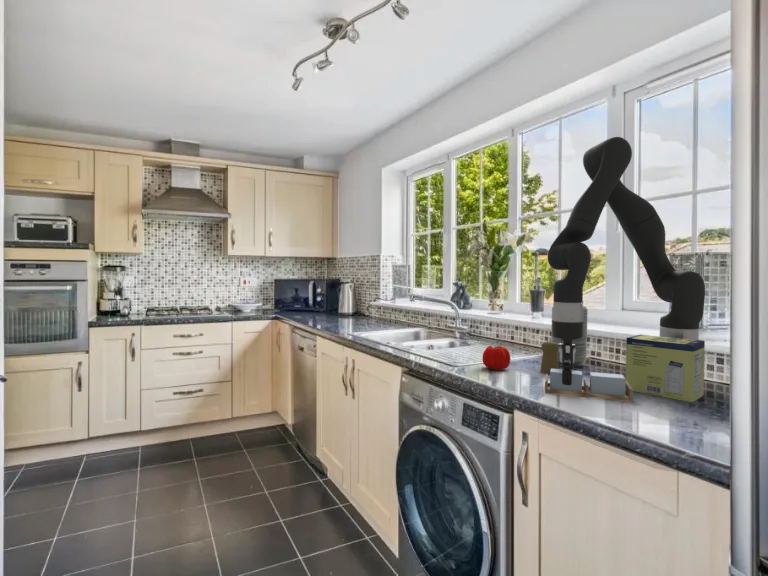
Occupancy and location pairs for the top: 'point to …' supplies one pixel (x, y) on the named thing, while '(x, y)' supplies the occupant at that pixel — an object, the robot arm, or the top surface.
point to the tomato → (496, 358)
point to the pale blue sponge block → (607, 384)
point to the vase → (577, 343)
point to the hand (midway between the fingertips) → (566, 380)
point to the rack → (586, 393)
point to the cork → (549, 356)
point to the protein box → (666, 366)
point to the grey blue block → (557, 381)
